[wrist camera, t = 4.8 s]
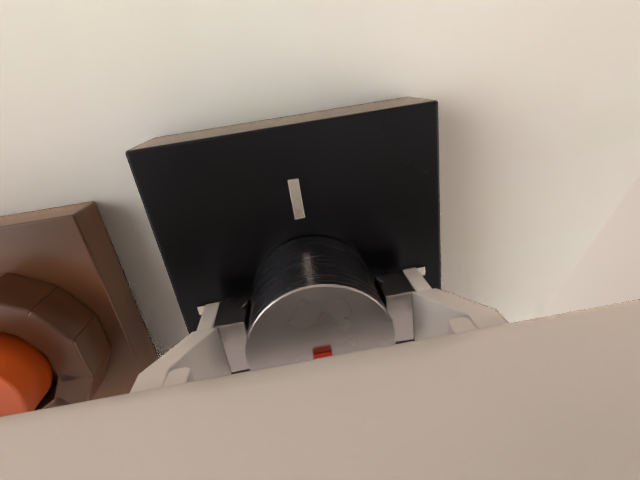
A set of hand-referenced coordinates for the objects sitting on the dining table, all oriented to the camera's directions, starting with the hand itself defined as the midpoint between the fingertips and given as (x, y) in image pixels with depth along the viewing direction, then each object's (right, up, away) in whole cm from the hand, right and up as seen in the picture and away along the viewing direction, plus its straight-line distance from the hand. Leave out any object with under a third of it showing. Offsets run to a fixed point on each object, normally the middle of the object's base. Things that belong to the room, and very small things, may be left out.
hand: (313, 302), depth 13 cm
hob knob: (0, 0, +1) cm, 1 cm away
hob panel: (0, +2, +4) cm, 4 cm away
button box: (-12, -1, +4) cm, 13 cm away
